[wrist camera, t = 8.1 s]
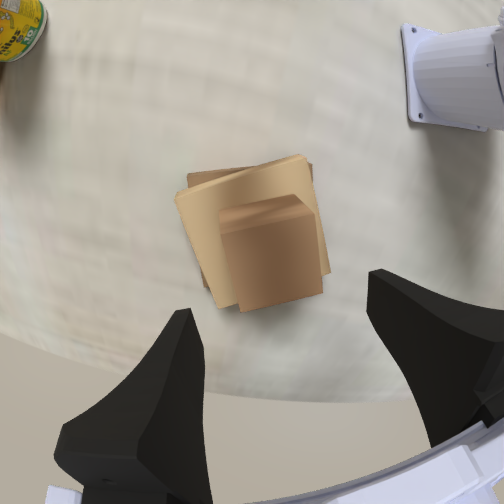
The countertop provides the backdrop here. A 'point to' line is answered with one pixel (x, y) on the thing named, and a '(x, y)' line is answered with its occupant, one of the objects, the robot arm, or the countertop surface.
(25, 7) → the supplement bottle
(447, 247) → the countertop surface
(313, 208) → the tile top
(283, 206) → the block
